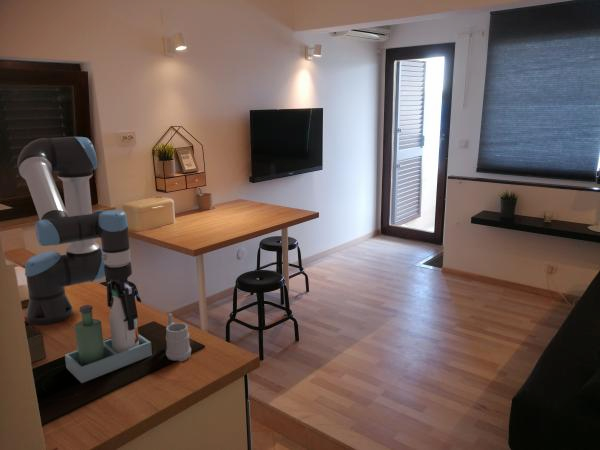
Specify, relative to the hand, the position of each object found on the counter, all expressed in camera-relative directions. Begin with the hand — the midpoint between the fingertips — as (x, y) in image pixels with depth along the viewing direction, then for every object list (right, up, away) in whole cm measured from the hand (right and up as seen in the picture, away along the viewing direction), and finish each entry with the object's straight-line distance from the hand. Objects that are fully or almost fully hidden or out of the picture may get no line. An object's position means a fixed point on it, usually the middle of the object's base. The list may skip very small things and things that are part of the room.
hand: (124, 334), depth 146 cm
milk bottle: (0, -5, +1) cm, 5 cm away
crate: (-4, -8, -2) cm, 9 cm away
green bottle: (-7, -9, -5) cm, 13 cm away
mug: (+15, -7, +4) cm, 17 cm away
